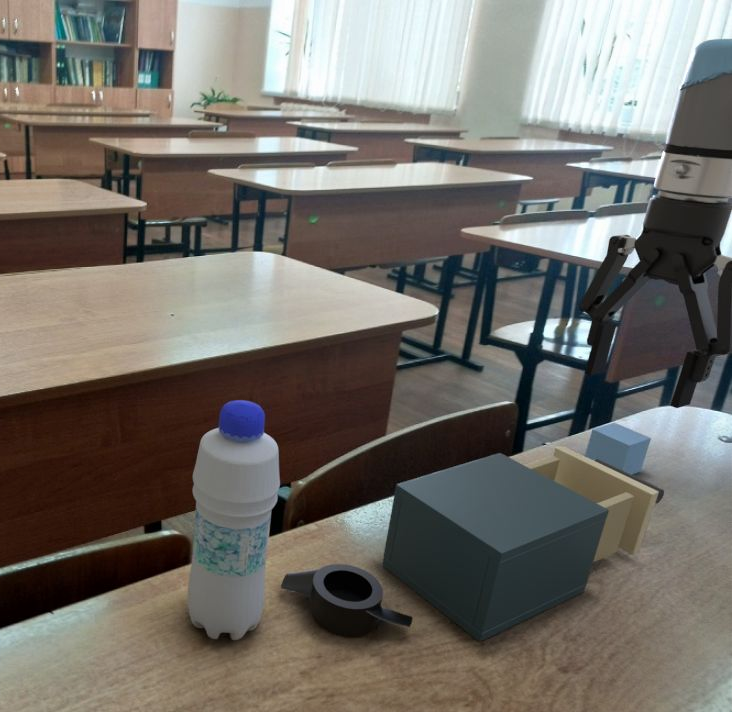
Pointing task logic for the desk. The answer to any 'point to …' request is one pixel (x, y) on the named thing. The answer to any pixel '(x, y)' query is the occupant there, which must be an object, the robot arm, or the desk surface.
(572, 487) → the drawer
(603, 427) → the soap block
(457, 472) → the cabinet
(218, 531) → the bottle
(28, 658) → the desk surface
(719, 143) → the robot arm
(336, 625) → the black winged ring
